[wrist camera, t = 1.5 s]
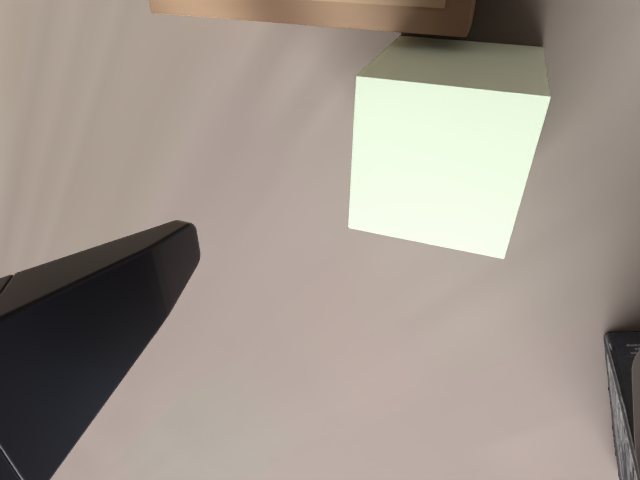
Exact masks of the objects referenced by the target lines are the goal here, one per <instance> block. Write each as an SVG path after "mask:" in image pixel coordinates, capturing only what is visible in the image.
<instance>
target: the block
mask: <svg viewBox="0 0 640 480" xmlns="http://www.w3.org/2000/svg"><path fill="white" fill-rule="evenodd" d="M550 98H551V94H550V88H549V82H548V75H547V69H546V63H545V56H544V50H543V47H537V46H524V45H511V44H499V43H486V42H473V41H460V40H448V39H435V38H422V37H410V36H400V37H399V38H397V39H396V40H395V41H394V42H393V43H392V44H391V45H390V46H389V47H388V48H386V49H385V50H384V51H383V52H382V53H381V54H380V55H379V56H378V57H377V58H376V59H374V60H373V61H372V62H371V63H370V64H369V65H368V66H367V67H366V68H365V69H364V70H362V71H361V72H360V73H359V74H358V75H357V76H356V91H355V110H354V130H353V149H352V168H351V188H350V207H349V226H348V228H351V229H356V230H361V231H366V232H371V233H376V234H381V235H386V236H391V237H396V238H401V239H406V240H411V241H416V242H421V243H426V244H431V245H436V246H441V247H446V248H451V249H456V250H461V251H466V252H471V253H476V254H481V255H486V256H491V257H496V258H501V259H504V257H505V254H506V250H507V247H508V243H509V240H510V236H511V233H512V229H513V226H514V223H515V219H516V216H517V212H518V209H519V205H520V202H521V198H522V195H523V191H524V188H525V185H526V181H527V178H528V174H529V171H530V167H531V164H532V160H533V157H534V153H535V150H536V146H537V143H538V140H539V136H540V133H541V129H542V126H543V122H544V119H545V115H546V112H547V108H548V105H549V102H550Z"/></svg>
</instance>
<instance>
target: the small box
mask: <svg viewBox="0 0 640 480" xmlns="http://www.w3.org/2000/svg"><path fill="white" fill-rule="evenodd" d="M604 344H605V357H606V365H607V374H608V385H609V387H608V390H609V394H610V395H609V396H610V404H611V412H612V423H613V425H612V429H613V437H614V444H615V446H614V447H615V455H616V457H617V465H618V476H619V479H620V480H640V478H639V472H638V466H637V459H636V452H635V439H634V415H633V390H632V365H633V361H634V358H635V356H636V355H637V353H638V351H639V349H640V332H616V333H607V334H606V335H605V336H604Z"/></svg>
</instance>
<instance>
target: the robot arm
mask: <svg viewBox="0 0 640 480" xmlns="http://www.w3.org/2000/svg"><path fill="white" fill-rule="evenodd" d="M199 260H200V248H199V242H198V236H197V230H196V227H195V226H194V224H192V223H189V222H184V221H180V220H175V221H172V222H169V223H166V224H163V225H160V226H157V227H154V228H151V229H148V230H145V231H142V232H139V233H136V234H133V235H130V236H127V237H123V238H120V239H117V240H114V241H111V242H108V243H105V244H102V245H99V246H96V247H93V248H90V249H87V250H84V251H81V252H78V253H75V254H72V255H69V256H66V257H63V258H60V259H57V260H54V261H51V262H48V263H45V264H42V265H39V266H36V267H33V268H30V269H27V270H24V271H21V272H18V273H15V274H14V275H8V276H5V277H2V278H0V480H50V479H51V477H52V476H53V475H54V473H55V472H56V471H57V469H58V468H59V466H60V465H61V464H62V462H63V461H64V460H65V458H66V457H67V455H68V454H69V453H70V451H71V450H72V449H73V447H74V446H75V444H76V443H77V442H78V440H79V439H80V437H81V436H82V435H83V433H84V432H85V431H86V429H87V428H88V426H89V425H90V424H91V422H92V421H93V420H94V418H95V417H96V415H97V414H98V413H99V411H100V410H101V408H102V407H103V406H104V404H105V403H106V402H107V400H108V399H109V397H110V396H111V395H112V393H113V392H114V391H115V389H116V388H117V386H118V385H119V384H120V382H121V381H122V379H123V378H124V377H125V375H126V374H127V373H128V371H129V370H130V368H131V367H132V366H133V364H134V363H135V362H136V360H137V359H138V357H139V356H140V355H141V353H142V352H143V350H144V349H145V348H146V346H147V345H148V344H149V342H150V341H151V339H152V338H153V337H154V335H155V334H156V333H157V331H158V330H159V328H160V327H161V326H162V324H163V323H164V321H165V320H166V318H167V317H168V315H169V314H170V312H171V310H172V309H173V307H174V305H175V304H176V302H177V300H178V298H179V297H180V295H181V293H182V291H183V290H184V288H185V286H186V284H187V283H188V281H189V279H190V277H191V276H192V274H193V272H194V270H195V269H196V267H197V265H198V263H199ZM632 390H633V415H634V439H635V452H636V459H637V466H638V472H639V478H640V349H639V351H638V353H637V355H636V356H635V358H634V361H633V365H632Z"/></svg>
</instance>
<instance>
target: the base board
mask: <svg viewBox="0 0 640 480" xmlns="http://www.w3.org/2000/svg"><path fill="white" fill-rule="evenodd" d="M149 3H150V9H151V13H157V14H170V15H183V16H196V17H209V18H222V19H235V20H248V21H261V22H274V23H287V24H300V25H313V26H326V27H339V28H352V29H365V30H378V31H391V32H404V33H417V34H430V35H442V36H455V37H466V36H467V34H468V32H469V30H470V28H471V26H472V20H473V14H474V9H475V3H476V0H149Z"/></svg>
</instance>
